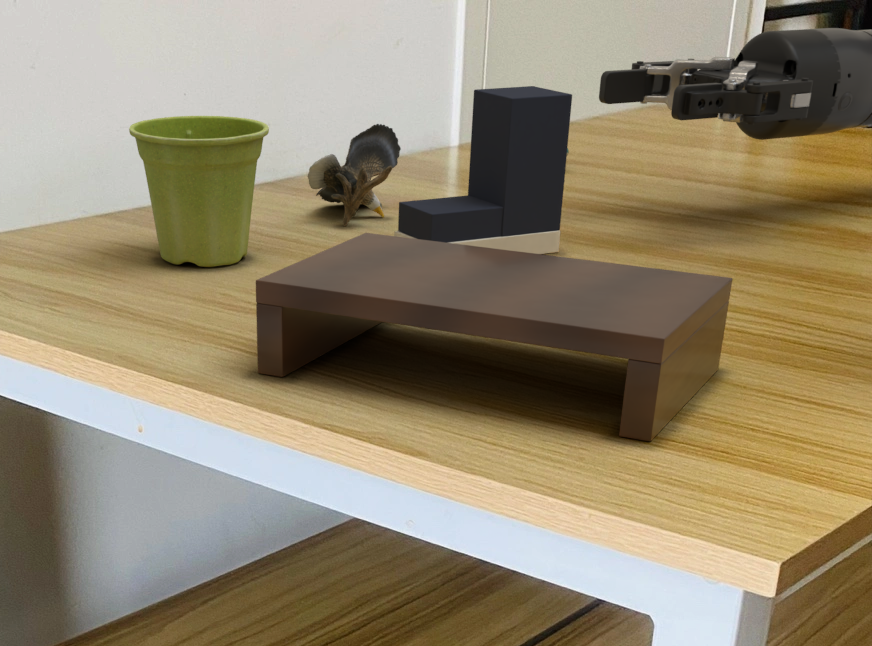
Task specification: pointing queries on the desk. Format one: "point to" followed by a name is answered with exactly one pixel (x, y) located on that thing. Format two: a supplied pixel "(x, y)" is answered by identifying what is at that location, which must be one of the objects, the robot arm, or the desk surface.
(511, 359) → the desk surface
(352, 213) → the eagle figurine
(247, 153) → the plant pot
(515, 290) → the monitor riser stand
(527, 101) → the boot
